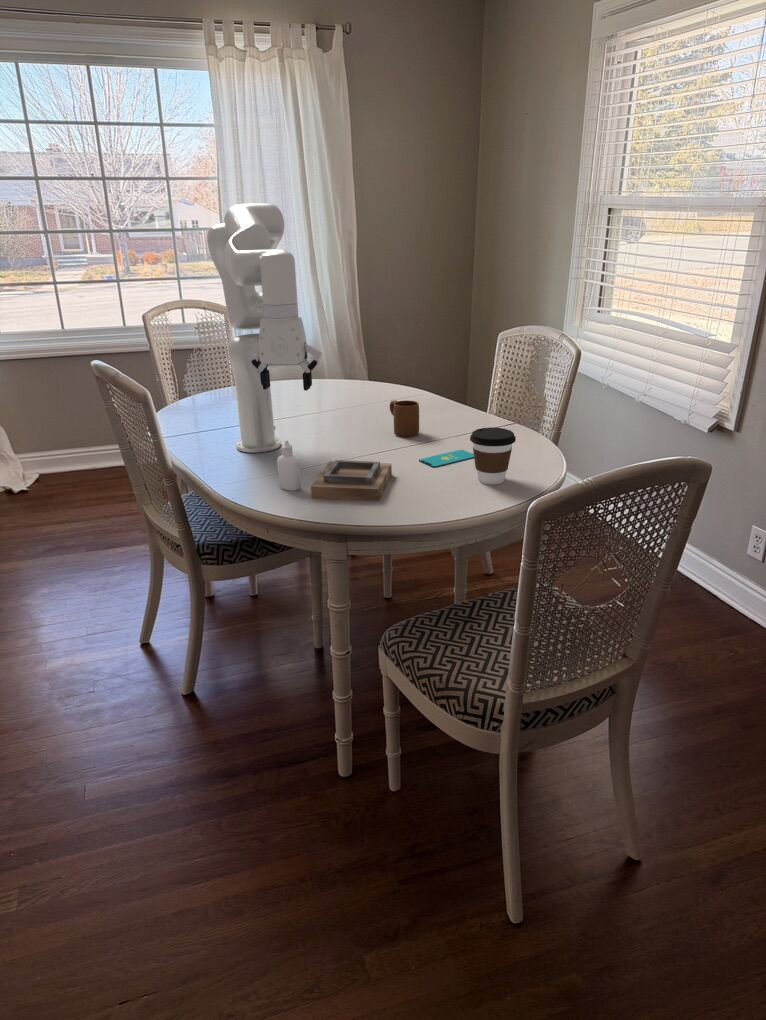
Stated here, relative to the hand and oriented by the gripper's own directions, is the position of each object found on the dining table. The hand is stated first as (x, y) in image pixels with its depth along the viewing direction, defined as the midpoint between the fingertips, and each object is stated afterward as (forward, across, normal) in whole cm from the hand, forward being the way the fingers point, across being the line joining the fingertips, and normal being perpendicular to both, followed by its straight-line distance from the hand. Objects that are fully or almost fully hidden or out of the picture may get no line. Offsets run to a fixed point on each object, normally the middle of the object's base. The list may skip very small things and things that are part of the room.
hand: (286, 388), depth 162 cm
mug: (+25, +18, +50) cm, 58 cm away
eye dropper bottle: (+25, -1, 0) cm, 25 cm away
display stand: (+25, +14, +4) cm, 28 cm away
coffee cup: (+25, +47, +12) cm, 54 cm away
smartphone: (+25, +34, +27) cm, 50 cm away
